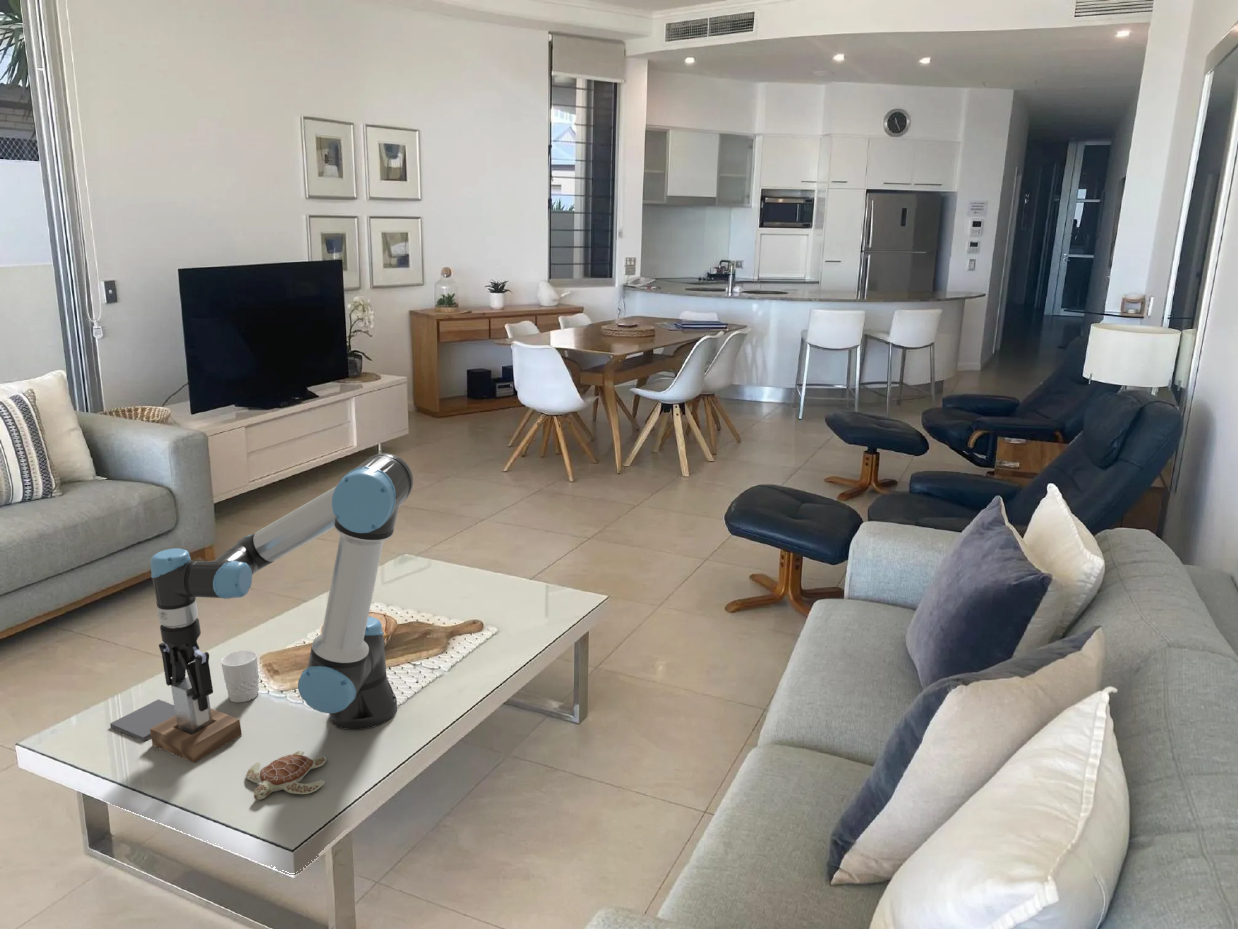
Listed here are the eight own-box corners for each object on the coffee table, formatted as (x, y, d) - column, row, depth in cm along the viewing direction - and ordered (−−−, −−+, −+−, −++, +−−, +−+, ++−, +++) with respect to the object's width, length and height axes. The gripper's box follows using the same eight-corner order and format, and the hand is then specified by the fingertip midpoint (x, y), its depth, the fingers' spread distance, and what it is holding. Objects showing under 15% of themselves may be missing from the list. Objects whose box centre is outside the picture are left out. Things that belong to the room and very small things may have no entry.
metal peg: (214, 737, 205) (206, 680, 201) (195, 749, 201) (186, 690, 197) (200, 731, 207) (191, 675, 204) (180, 742, 203) (170, 685, 199)
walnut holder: (241, 735, 206) (239, 719, 205) (194, 763, 196) (191, 746, 195) (200, 719, 212) (198, 703, 211) (152, 745, 202) (149, 728, 201)
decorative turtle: (221, 795, 186) (217, 773, 184) (280, 751, 200) (278, 730, 199) (292, 816, 179) (289, 794, 177) (348, 769, 193) (346, 748, 192)
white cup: (249, 705, 218) (244, 667, 215) (219, 702, 220) (213, 664, 217) (268, 689, 225) (263, 651, 223) (239, 686, 227) (233, 649, 224)
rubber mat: (192, 716, 214) (191, 712, 214) (143, 741, 204) (143, 737, 204) (159, 703, 220) (158, 699, 219) (110, 727, 210) (110, 723, 209)
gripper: (136, 619, 198) (152, 716, 204) (191, 637, 189) (206, 738, 195) (168, 606, 204) (182, 701, 210) (222, 623, 195) (236, 721, 202)
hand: (194, 718), depth 203 cm, fingers closed on metal peg, 5 cm apart
